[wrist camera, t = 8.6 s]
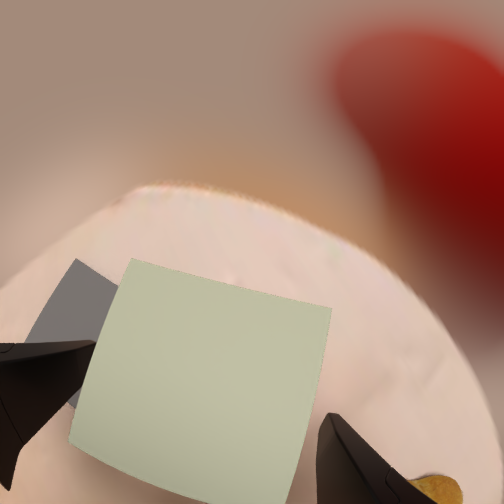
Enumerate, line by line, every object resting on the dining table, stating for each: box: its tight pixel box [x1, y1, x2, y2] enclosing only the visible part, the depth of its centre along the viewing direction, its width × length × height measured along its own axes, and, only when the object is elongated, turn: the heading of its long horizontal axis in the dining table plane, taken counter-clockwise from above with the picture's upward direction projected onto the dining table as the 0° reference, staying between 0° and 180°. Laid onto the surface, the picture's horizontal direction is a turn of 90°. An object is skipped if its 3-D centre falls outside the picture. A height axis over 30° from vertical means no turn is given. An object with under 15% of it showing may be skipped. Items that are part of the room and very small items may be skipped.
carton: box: [68, 258, 332, 504], centre depth 12 cm, size 6×6×12 cm
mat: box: [24, 259, 118, 409], centre depth 19 cm, size 10×10×1 cm
